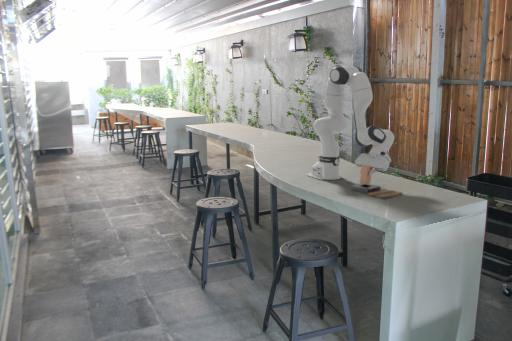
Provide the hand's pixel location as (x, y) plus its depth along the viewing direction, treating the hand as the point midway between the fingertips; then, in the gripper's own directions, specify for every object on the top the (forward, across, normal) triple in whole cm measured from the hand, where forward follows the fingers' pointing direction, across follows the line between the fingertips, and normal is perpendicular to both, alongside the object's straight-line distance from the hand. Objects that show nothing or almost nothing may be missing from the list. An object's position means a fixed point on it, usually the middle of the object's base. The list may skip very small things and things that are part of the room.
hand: (365, 174), depth 260 cm
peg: (+3, 0, +4) cm, 5 cm away
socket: (+6, 0, +7) cm, 10 cm away
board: (+6, +14, +7) cm, 16 cm away
